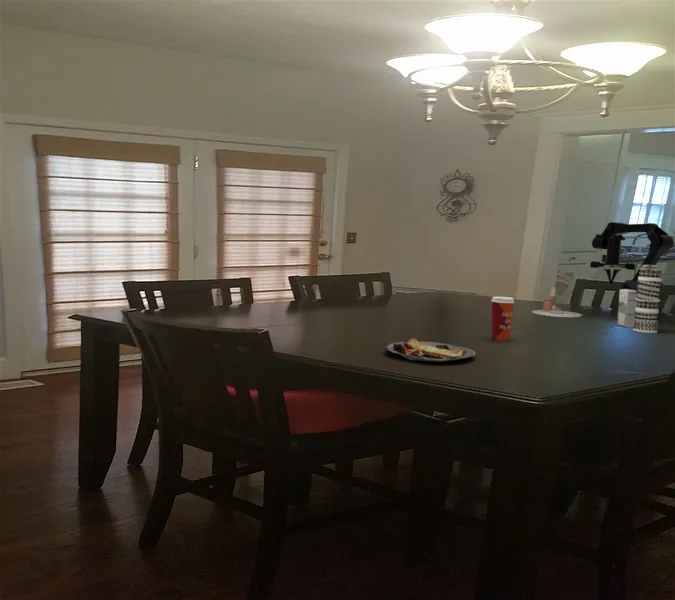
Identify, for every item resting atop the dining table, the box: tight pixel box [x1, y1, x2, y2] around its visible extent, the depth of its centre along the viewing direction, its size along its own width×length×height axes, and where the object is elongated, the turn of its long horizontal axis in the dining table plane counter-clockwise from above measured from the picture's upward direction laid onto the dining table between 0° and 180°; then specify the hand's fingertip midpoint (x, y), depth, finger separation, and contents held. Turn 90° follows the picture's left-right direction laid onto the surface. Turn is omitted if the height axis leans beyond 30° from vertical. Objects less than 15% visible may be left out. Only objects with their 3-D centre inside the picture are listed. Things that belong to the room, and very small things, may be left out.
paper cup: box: [490, 296, 515, 342], centre depth 219 cm, size 8×8×14 cm
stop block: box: [542, 300, 552, 311], centre depth 296 cm, size 3×2×4 cm
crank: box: [548, 286, 562, 311], centre depth 294 cm, size 12×3×9 cm, turn 175°
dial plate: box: [531, 309, 583, 318], centre depth 290 cm, size 21×21×1 cm
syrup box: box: [616, 288, 638, 328], centre depth 259 cm, size 6×6×14 cm
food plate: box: [385, 337, 476, 363], centre depth 188 cm, size 25×23×4 cm
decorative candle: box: [632, 264, 664, 334], centre depth 248 cm, size 9×9×25 cm
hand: (610, 284), depth 299 cm, fingers closed
